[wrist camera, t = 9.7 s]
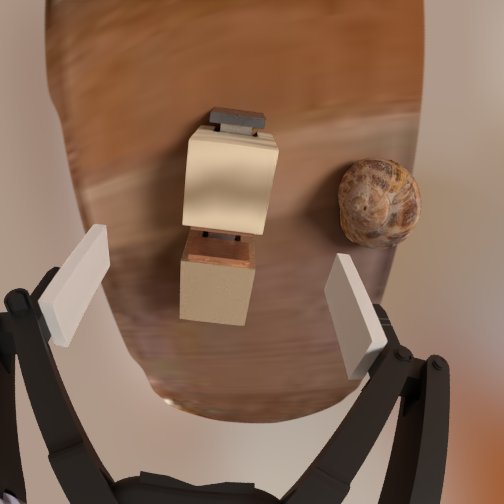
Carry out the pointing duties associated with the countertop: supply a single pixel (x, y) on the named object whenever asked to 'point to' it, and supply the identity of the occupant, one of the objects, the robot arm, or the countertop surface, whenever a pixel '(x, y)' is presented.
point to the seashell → (378, 203)
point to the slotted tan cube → (228, 181)
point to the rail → (219, 254)
